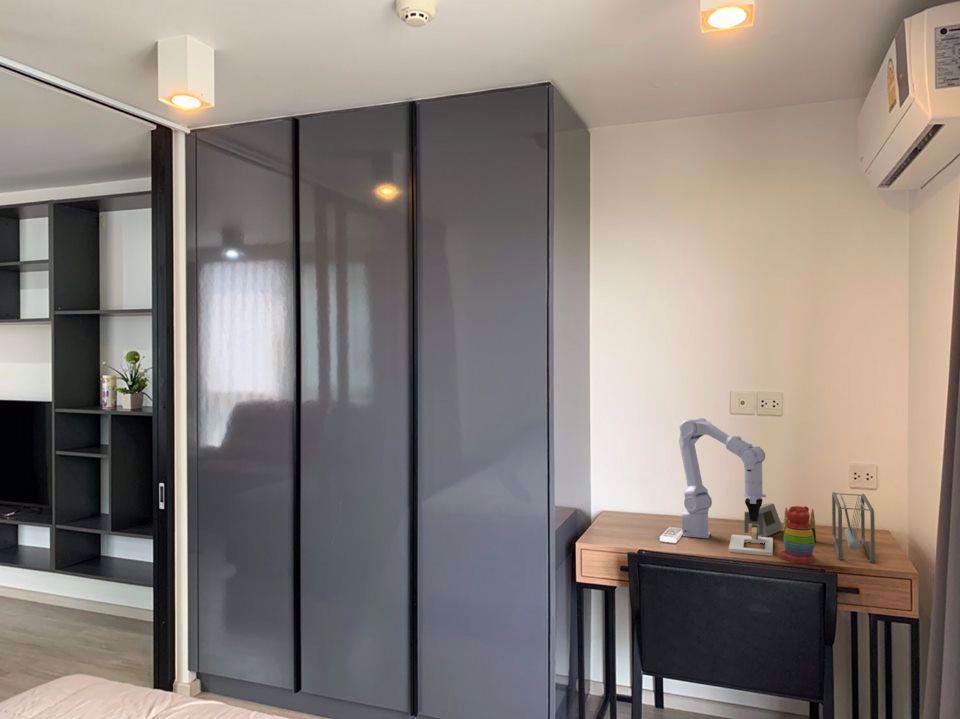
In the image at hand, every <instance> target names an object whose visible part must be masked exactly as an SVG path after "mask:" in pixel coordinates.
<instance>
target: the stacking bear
mask: <svg viewBox="0 0 960 719" xmlns="http://www.w3.org/2000/svg"><path fill="white" fill-rule="evenodd" d="M787 510H788V512H787V517H788V519H789V521H790V522H789V523H788V524H787V526H786V528H785V533H784V532H783V538H784V539H783V546H784V549H785V550H780V551H779V552H778V555H777V556H778V557H779V558H781V560H785V561H786V562H787V561H788V562H790V563H795V564H796V563H798V564H812V563H813V562H815V555H814V554H813V552H814V548H815V545H816V544H815V543H816V542H815V541H814V536H813V531H812V529H811V527H810V525H809V524H807V523H808V521H809V520H810V519H811V513H810V512H809V511H810V508H809V507H808V506H800V505H795V506H790V507H789V509H787Z"/></svg>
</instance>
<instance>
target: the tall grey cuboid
mask: <svg viewBox="0 0 960 719" xmlns="http://www.w3.org/2000/svg"><path fill="white" fill-rule="evenodd" d="M749 524H751V525H752V524H759V534H763V513H759V514H758V520H757V522H755V521H751V520H750V516H749V511H744V533H746V534H749Z"/></svg>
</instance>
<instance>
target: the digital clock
mask: <svg viewBox="0 0 960 719" xmlns="http://www.w3.org/2000/svg"><path fill="white" fill-rule="evenodd" d="M759 513H763V534H759V524H758V536H759V537H768V536H769V537H771V536H773V535H772V534H774V533H776V534H778V533H779V532H781V531H783V530H784V527H783V525H782V522H781V519H780V517H779V513H778V511H777V508H776V506H775V503H773V502H769V503H765V504H762V505H761V507H760V509H759ZM777 532H778V533H777ZM770 535H771V536H770ZM774 535H775V534H774ZM769 537H768V538H769Z"/></svg>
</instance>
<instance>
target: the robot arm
mask: <svg viewBox="0 0 960 719" xmlns="http://www.w3.org/2000/svg"><path fill="white" fill-rule="evenodd" d="M679 433H680V434H679V439H678V443H679V448H680V453H681V458H682V464H683V470H684V474H685V480H686V484H687V488H686V490H685V491H684V500H683V506H684V508H685V509H686V510H683V511H682V515H681V516H682V517H681V519H682V520H681V530H682V531H681V533H682V532H683V536H682V537H688V538H689V537H690V538H700V539H709V538H710V535H711V532H710V531H709V512H710V510H709V509H710V508H711V507H712V503H713V500H712V497H711V496H710V494H709V491H708V488H706V487H705V486H704V485H703V480H702V479H703V478H702V476H701V470H700V466H699V460H698V454H697V451H696V450H697V449H696V445H695V444H696V443H697V441H698V440H699V439H700V438H701V437H704V436H709V437H711V438H712V439H715V440H716V441H718V442H720V443H722V444H724V445H725V447H726V450H728V451H729V452H730V453H732V454H734V455H736V456H738V457H739V458H740V459H741V461H742V462H743V465H744V494H743V495H744V497H746V498H745V500H744V503H745V506H746V507H747V512H749V516H750V520H751V521H755V522H757V520H758V514H759V509H760V507H761V505H763V498H766V497H767V494H764V493H763V462H764V461H765V459H766V453H765V451H764V449H763V448H761V447H760V446H753V444H751V443H748V442H746V441H745V440H743V439H742V437H741V436H739V435H733V436H730V435H729V434H727V433H726V432H725V431H723V430H721V429H720V428H718V427H717V426H716V425H714V424H713V423H712V422H711V421H709V420H707V419H706V418H705V417H704V418H703V417H700V418H692V419H685V420H683V421H682V422H681V424H680V425H679Z"/></svg>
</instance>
